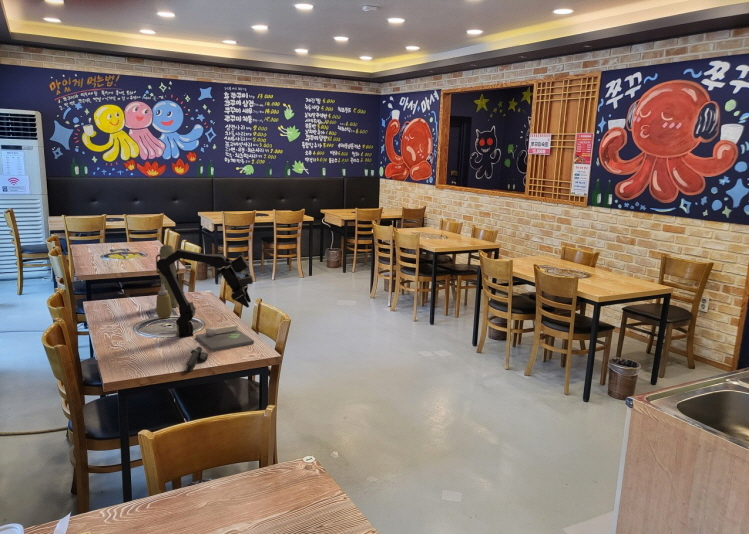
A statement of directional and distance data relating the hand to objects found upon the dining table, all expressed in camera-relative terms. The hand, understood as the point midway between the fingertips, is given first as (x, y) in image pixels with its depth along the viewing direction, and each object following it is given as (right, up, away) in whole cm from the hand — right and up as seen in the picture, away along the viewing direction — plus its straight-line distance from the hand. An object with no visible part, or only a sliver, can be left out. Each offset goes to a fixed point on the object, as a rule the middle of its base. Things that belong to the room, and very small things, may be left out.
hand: (249, 304), depth 273 cm
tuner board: (-10, -16, -8) cm, 21 cm away
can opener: (-14, -23, -37) cm, 46 cm away
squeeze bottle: (-51, -9, +27) cm, 59 cm away
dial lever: (-13, -13, -2) cm, 19 cm away
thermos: (-55, -5, +46) cm, 72 cm away
